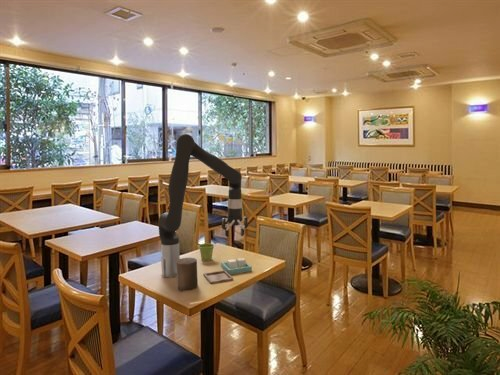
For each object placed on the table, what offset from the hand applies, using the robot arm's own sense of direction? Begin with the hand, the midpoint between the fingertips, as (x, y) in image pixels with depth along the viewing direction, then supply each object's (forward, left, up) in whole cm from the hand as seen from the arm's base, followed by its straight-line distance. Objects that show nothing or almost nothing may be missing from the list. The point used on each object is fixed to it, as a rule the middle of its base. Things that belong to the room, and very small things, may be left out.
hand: (234, 236), depth 193 cm
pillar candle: (-30, -15, -19) cm, 38 cm away
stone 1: (-3, -2, -18) cm, 18 cm away
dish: (0, -2, -19) cm, 19 cm away
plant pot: (-10, +22, -19) cm, 31 cm away
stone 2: (+3, -2, -18) cm, 18 cm away
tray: (-13, -10, -19) cm, 25 cm away
